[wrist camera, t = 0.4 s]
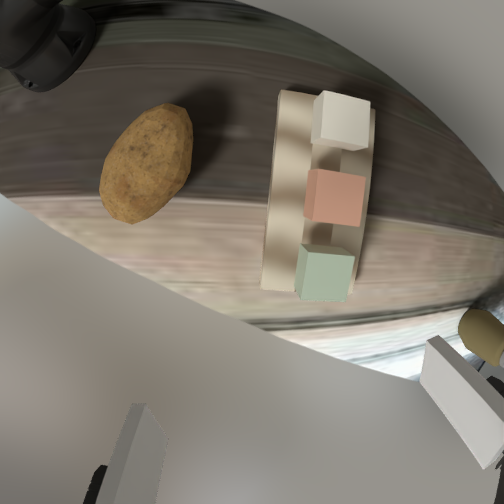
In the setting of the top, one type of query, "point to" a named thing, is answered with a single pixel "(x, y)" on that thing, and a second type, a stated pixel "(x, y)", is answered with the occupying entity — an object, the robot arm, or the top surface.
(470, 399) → the robot arm
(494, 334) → the squeeze bottle
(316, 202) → the block terracotta
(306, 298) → the block sage
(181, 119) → the potato
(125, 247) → the top surface
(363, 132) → the block cream
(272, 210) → the board
